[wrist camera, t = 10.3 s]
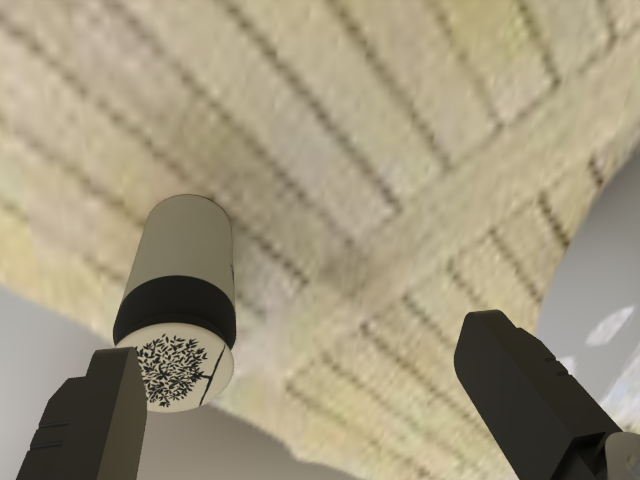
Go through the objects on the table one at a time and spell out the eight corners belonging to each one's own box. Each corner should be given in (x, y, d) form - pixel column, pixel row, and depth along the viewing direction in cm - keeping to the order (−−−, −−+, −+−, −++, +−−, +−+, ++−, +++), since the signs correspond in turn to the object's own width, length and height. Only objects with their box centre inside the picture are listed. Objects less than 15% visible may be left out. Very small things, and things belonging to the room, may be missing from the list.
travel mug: (133, 247, 41) (81, 401, 26) (165, 179, 38) (129, 306, 23) (210, 275, 44) (205, 426, 29) (245, 214, 41) (260, 345, 26)
